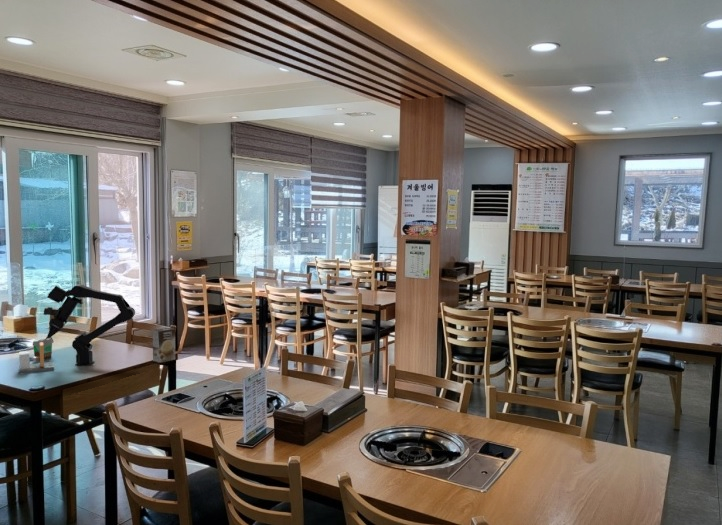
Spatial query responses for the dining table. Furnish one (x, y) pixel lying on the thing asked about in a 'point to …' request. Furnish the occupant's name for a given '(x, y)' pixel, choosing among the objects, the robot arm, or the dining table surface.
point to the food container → (47, 348)
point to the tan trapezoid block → (41, 357)
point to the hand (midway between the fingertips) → (49, 336)
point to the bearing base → (28, 368)
